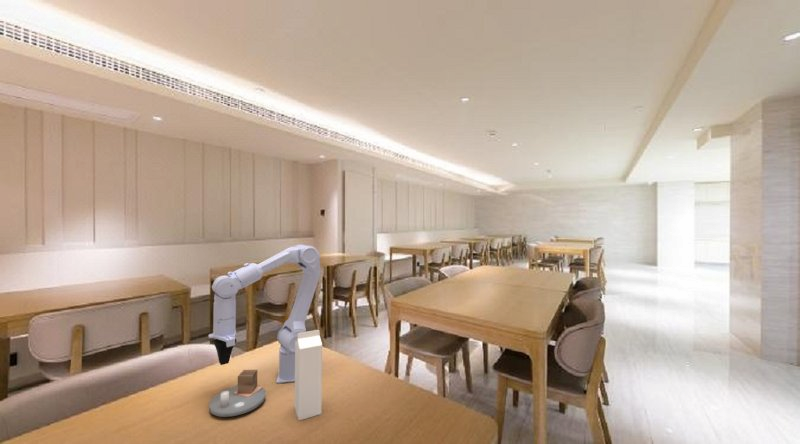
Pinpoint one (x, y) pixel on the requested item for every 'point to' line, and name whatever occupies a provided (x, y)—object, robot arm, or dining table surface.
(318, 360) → the milk
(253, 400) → the turntable
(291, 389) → the dining table surface
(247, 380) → the walnut block
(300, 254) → the robot arm
